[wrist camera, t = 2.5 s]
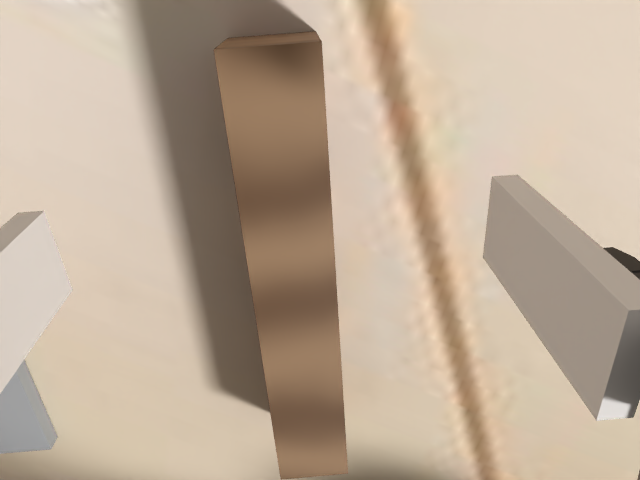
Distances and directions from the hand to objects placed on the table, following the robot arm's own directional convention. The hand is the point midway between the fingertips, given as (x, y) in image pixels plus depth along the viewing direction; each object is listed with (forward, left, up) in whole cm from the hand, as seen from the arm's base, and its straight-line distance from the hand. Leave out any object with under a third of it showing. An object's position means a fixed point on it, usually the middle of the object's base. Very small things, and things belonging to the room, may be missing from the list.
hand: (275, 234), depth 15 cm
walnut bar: (-7, 0, -11) cm, 13 cm away
